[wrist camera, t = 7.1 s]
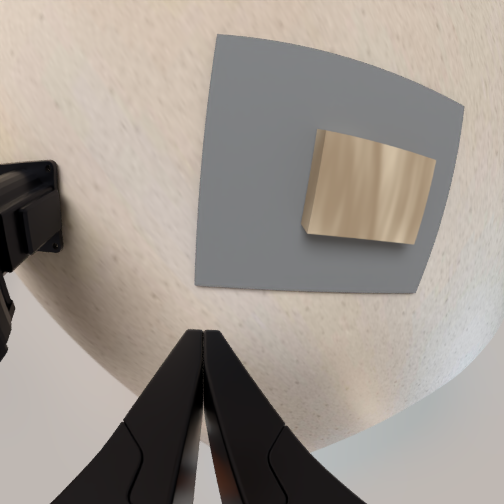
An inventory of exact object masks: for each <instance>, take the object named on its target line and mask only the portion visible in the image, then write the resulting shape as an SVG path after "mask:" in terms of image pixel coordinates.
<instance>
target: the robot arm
mask: <svg viewBox="0 0 504 504" xmlns="http://www.w3.org/2000/svg"><path fill="white" fill-rule="evenodd" d="M48 165H50V167H51V170H50V171H49V170H48ZM61 228H62V222H61V212H60V200H59V192H58V188H57V166H56V163H55V162H54V161H53V160H41V161H27V162H16V163H6V164H0V362H1V360H2V359H3V357H4V356H5V355H6V353H7V351H8V347H7V345H6V343H7V341H8V338H9V335H10V332H11V321H12V318H13V314H14V311H15V306H14V303H13V300H11V299H10V296H9V293H8V290H7V287H6V283H5V280H4V277H3V276H4V275H5V274H6V273H7V272H9V273H11V272H13V271H14V270H15V269H16V268H17V267H18V266H19V265H20V264H21V263H22V262H23V261H24V260H25V259H26V258H27V257H28V256H29V255H33V254H34V253H35V252H36V251H42V252H53V253H58V252H60V251H61V250H62V248H63V239H62V231H61ZM55 243H56V244H57V245H58V247H57V246H56V245H55ZM203 402H204V414H205V420H206V426H207V432H208V438H209V443H210V448H211V454H212V459H213V464H214V469H215V474H216V478H217V483H218V487H219V492H220V496H221V501H222V504H367V503H365V502H364V501H363V500H361V499H360V498H359V497H358V496H357V495H355V494H354V493H353V492H352V491H351V490H349V489H348V488H347V487H346V486H345V485H344V484H342V483H341V482H340V481H339V480H338V479H337V478H336V477H334V476H333V475H332V474H331V473H330V472H329V471H328V470H326V469H325V467H323V466H322V465H321V464H320V463H319V462H318V461H317V460H316V459H315V458H314V457H313V456H312V455H311V454H310V453H309V451H308V450H307V449H306V448H305V447H304V446H303V445H302V443H301V442H300V441H299V440H298V439H297V437H296V436H295V435H294V434H293V432H292V431H291V430H290V428H289V427H288V426H285V422H284V421H283V420H282V418H281V417H280V416H279V414H278V413H277V412H276V410H275V409H274V408H273V406H272V405H271V404H270V402H269V401H268V399H267V398H266V397H265V395H264V394H263V393H262V391H261V390H260V388H259V387H258V386H257V384H256V383H255V382H254V380H253V379H252V377H251V376H250V374H249V373H248V372H247V370H246V369H245V367H244V366H243V364H242V363H241V362H240V360H239V359H238V357H237V356H236V354H235V353H234V351H233V350H232V348H231V347H230V345H229V344H228V342H227V341H226V339H225V338H224V336H223V335H222V333H221V332H220V331H218V330H205V331H204V332H203V331H202V330H196V329H188V330H186V332H185V333H184V334H183V336H182V337H181V339H180V340H179V341H178V343H177V344H176V346H175V347H174V348H173V350H172V351H171V353H170V354H169V355H168V357H167V358H166V360H165V361H164V362H163V364H162V365H161V367H160V368H159V369H158V371H157V372H156V374H155V375H154V377H153V378H152V379H151V381H150V382H149V384H148V385H147V386H146V388H145V389H144V391H143V392H142V394H141V395H140V396H139V398H138V399H137V401H136V402H135V404H134V405H133V406H132V408H131V409H130V411H129V412H128V414H127V415H126V417H125V418H124V419H123V421H124V422H121V423H120V425H119V426H118V428H117V429H116V430H115V432H114V433H113V435H112V436H111V437H110V439H109V440H108V441H107V443H106V444H105V445H104V447H103V448H102V449H101V451H100V452H99V453H98V454H97V455H96V456H95V457H94V458H93V459H92V461H91V462H90V463H89V464H88V465H87V466H86V467H85V468H84V469H83V470H82V472H81V473H80V474H79V475H78V476H77V477H76V478H75V479H74V480H73V481H72V482H71V483H70V484H69V485H68V486H67V487H66V488H65V489H64V490H63V491H62V492H61V494H60V495H58V496H57V497H56V498H55V500H53V501H52V502H51V503H50V504H193V500H194V489H195V488H194V487H195V479H196V469H197V460H198V451H199V442H200V433H201V425H202V416H203Z"/></svg>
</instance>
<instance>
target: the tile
mask: <svg viewBox="0 0 504 504" xmlns="http://www.w3.org/2000/svg"><path fill="white" fill-rule="evenodd" d="M435 164H436V160H434V159H431V158H428V157H425V156H422V155H419V154H416V153H413V152H410V151H407V150H403V149H400V148H396V147H393V146H389V145H386V144H382V143H378V142H375V141H371V140H367V139H363V138H359V137H355V136H350V135H346V134H341V133H337V132H332V131H327V130H321V129H317V133H316V139H315V146H314V152H313V158H312V164H311V170H310V176H309V182H308V187H307V193H306V199H305V204H304V210H303V215H302V220H301V225H302V226H303V228H304V229H305V231H306V232H307V234H318V235H328V236H338V237H349V238H358V239H368V240H378V241H387V242H396V243H405V244H415V240H416V237H417V234H418V231H419V227H420V224H421V221H422V217H423V214H424V210H425V206H426V202H427V199H428V195H429V191H430V186H431V182H432V178H433V173H434V169H435Z"/></svg>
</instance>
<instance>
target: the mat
mask: <svg viewBox="0 0 504 504" xmlns="http://www.w3.org/2000/svg"><path fill="white" fill-rule="evenodd" d="M463 114H464V106H463V105H461V104H459V103H457V102H455V101H454V100H452V99H450V98H448V97H446V96H444V95H442V94H440V93H438V92H436V91H434V90H432V89H429V88H427V87H425V86H423V85H421V84H418V83H416V82H414V81H412V80H409V79H407V78H404V77H402V76H399V75H397V74H394V73H392V72H389V71H386V70H384V69H381V68H378V67H375V66H373V65H370V64H367V63H364V62H360V61H357V60H354V59H351V58H347V57H344V56H341V55H337V54H333V53H330V52H326V51H322V50H318V49H313V48H309V47H304V46H300V45H295V44H290V43H284V42H279V41H273V40H266V39H259V38H252V37H243V36H234V35H222V34H217V39H216V46H215V52H214V59H213V66H212V73H211V81H210V89H209V97H208V105H207V114H206V123H205V132H204V142H203V153H202V164H201V176H200V189H199V203H198V219H197V237H196V258H195V285H197V286H212V287H228V288H245V289H265V290H287V291H315V292H353V293H416V291H417V288H418V286H419V283H420V281H421V278H422V275H423V273H424V270H425V268H426V265H427V262H428V259H429V257H430V254H431V251H432V248H433V245H434V242H435V239H436V236H437V233H438V229H439V226H440V223H441V219H442V216H443V212H444V209H445V205H446V201H447V198H448V194H449V190H450V186H451V181H452V177H453V173H454V168H455V163H456V158H457V153H458V147H459V141H460V135H461V129H462V121H463ZM317 129H321V130H327V131H332V132H337V133H341V134H346V135H350V136H355V137H359V138H363V139H367V140H371V141H375V142H378V143H382V144H386V145H389V146H393V147H396V148H400V149H403V150H407V151H410V152H413V153H416V154H419V155H422V156H425V157H428V158H431V159H434V160H436V164H435V169H434V173H433V178H432V182H431V186H430V191H429V195H428V199H427V202H426V206H425V210H424V214H423V217H422V221H421V224H420V227H419V231H418V234H417V237H416V240H415V244H405V243H396V242H387V241H378V240H368V239H358V238H349V237H338V236H328V235H318V234H307V232H306V231H305V229H304V228H303V226H302V225H301V220H302V215H303V210H304V204H305V199H306V193H307V187H308V182H309V176H310V170H311V164H312V158H313V152H314V146H315V139H316V133H317Z"/></svg>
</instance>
